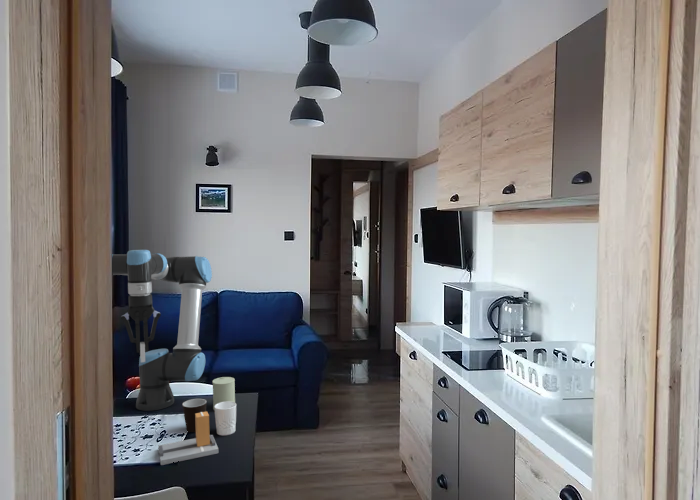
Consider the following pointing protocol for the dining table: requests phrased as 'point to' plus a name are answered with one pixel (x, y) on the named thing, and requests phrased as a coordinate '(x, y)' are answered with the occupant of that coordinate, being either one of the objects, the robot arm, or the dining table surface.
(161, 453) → the rail
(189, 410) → the coffee mug
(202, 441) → the fader tab
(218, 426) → the white cup
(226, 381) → the can
